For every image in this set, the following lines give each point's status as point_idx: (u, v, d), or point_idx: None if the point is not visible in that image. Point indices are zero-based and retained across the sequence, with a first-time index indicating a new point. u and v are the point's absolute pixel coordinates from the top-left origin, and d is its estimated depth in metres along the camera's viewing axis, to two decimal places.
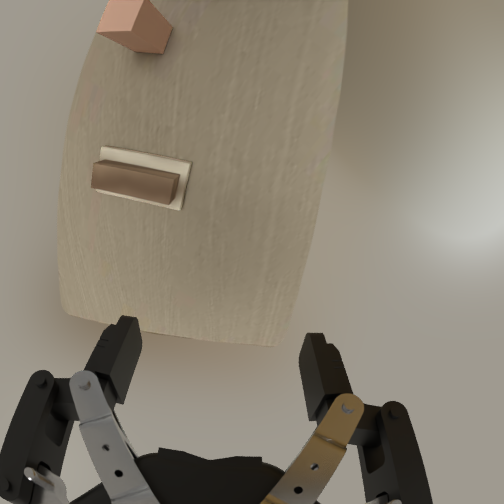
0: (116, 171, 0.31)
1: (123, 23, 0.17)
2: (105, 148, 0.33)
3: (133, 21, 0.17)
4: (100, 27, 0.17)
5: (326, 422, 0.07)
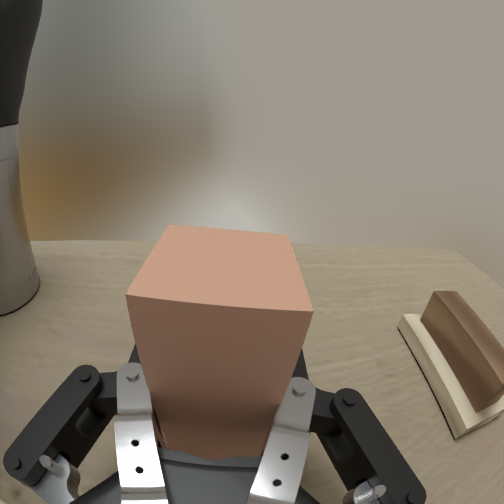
0: (483, 348, 0.14)
1: (265, 247, 0.09)
2: (464, 420, 0.12)
3: (257, 233, 0.10)
4: (286, 300, 0.07)
5: (281, 410, 0.08)
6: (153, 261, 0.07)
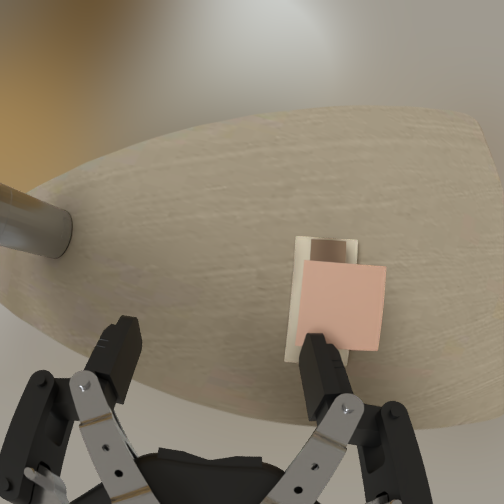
0: None
1: (368, 289, 0.13)
2: (286, 355, 0.28)
3: (365, 268, 0.13)
4: (367, 343, 0.13)
5: (326, 422, 0.07)
6: (303, 314, 0.14)
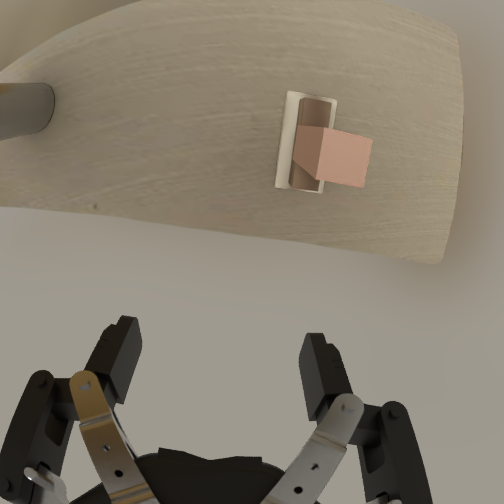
0: None
1: (360, 150, 0.21)
2: (276, 182, 0.37)
3: (360, 138, 0.20)
4: (357, 182, 0.22)
5: (326, 422, 0.07)
6: (321, 160, 0.21)
